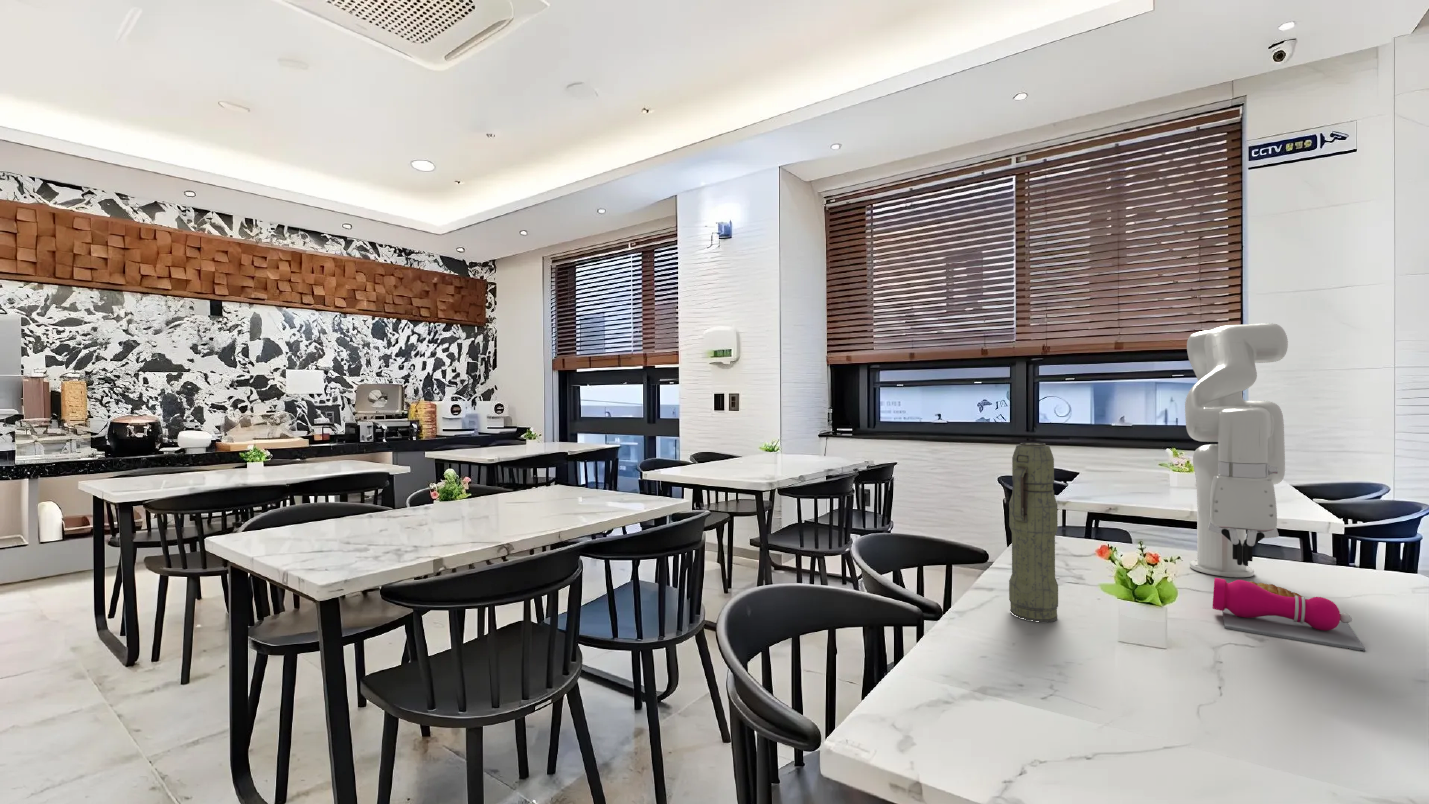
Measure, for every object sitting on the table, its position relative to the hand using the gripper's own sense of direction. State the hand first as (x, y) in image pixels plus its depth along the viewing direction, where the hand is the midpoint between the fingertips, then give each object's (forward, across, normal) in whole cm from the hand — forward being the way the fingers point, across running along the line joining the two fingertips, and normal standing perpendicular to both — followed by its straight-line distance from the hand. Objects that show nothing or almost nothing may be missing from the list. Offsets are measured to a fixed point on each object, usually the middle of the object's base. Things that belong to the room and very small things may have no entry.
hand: (1242, 563), depth 126 cm
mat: (+11, -6, 0) cm, 13 cm away
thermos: (+11, +34, +20) cm, 41 cm away
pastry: (+12, -6, -18) cm, 22 cm away
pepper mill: (+7, +5, -1) cm, 8 cm away
